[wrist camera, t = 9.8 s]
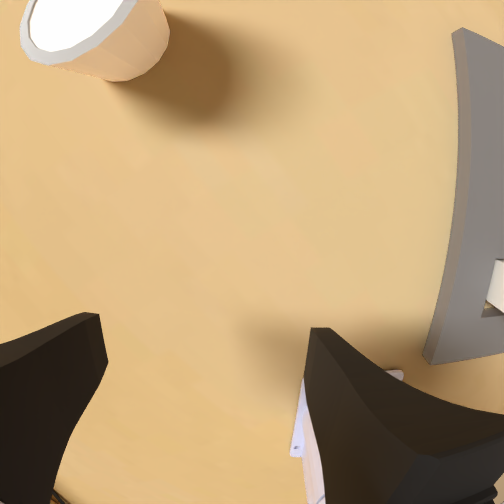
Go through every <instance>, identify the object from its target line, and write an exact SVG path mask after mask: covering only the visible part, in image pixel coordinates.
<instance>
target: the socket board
mask: <svg viewBox="0 0 504 504" xmlns="http://www.w3.org/2000/svg"><path fill="white" fill-rule="evenodd" d="M452 40H453V47H454V56H455V65H456V77H457V93H458V163H457V179H456V192H455V202H454V211H453V219H452V227H451V234H450V240H449V246H448V252H447V258H446V263H445V269H444V274H443V278H442V283H441V288H440V292H439V296H438V301H437V305H436V309H435V313H434V316H433V320H432V324H431V327H430V331H429V334H428V338H427V341H426V345H425V348H424V351H423V354H422V355H423V357H424V358H425V359H426V360H427V362H428V363H429V364H430V365H437V364H444V363H451V362H457V361H463V360H469V359H474V358H480V357H485V356H490V355H495V354H499V353H504V313H503V312H502V311H501V310H499V309H498V308H487V309H484V305H485V301H486V298H487V294H488V290H489V286H490V282H491V278H492V274H493V269H494V264H495V260H496V258H497V259H504V47H503V46H501V45H499V44H497V43H495V42H493V41H491V40H489V39H487V38H485V37H483V36H481V35H479V34H477V33H474V32H472V31H470V30H468V29H465V28H463V27H462V28H460V29H458V30H457V31H455V32H453V33H452Z"/></svg>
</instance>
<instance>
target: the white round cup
mask: <svg viewBox="0 0 504 504" xmlns="http://www.w3.org/2000/svg"><path fill="white" fill-rule="evenodd" d="M169 36H170V29H169V25H168V22H167V19H166V16H165V14H164V11H163V9H162V6H161V4H160V1H159V0H30V1H29V2H28V4H27V6H26V9H25V12H24V15H23V18H22V21H21V24H20V42H21V47H22V49H23V50H24V52H25V53H26V55H27V56H28V58H29V59H30V60H32V61H35V62H38V63H41V64H44V65H47V66H52V67H56V68H61V69H65V70H69V71H74V72H78V73H82V74H86V75H90V76H93V77H97V78H101V79H104V80H108V81H112V82H117V81H129V80H131V79H133V78H136V77H138V76H140V75H143V74H145V73H146V72H147V71H148V70H149V69H150V68H152V67H153V66H154V65H155V64H156V63H157V62H159V60H160V58H161V57H162V55H163V53H164V52H165V50H166V48H167V47H168V41H169Z"/></svg>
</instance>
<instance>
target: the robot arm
mask: <svg viewBox="0 0 504 504" xmlns="http://www.w3.org/2000/svg"><path fill="white" fill-rule="evenodd" d="M107 365H108V358H107V353H106V348H105V344H104V339H103V333H102V328H101V322H100V317H99V314H95V313H87V312H83V313H80V314H76V315H74V316H71V317H68V318H66V319H64V320H61V321H59V322H56V323H54V324H52V325H49V326H47V327H45V328H43V329H40V330H38V331H35V332H33V333H30V334H28V335H25V336H23V337H20V338H17V339H15V340H12V341H9V342H6V343H3V344H0V504H50V501H51V496H52V492H53V487H54V483H55V479H56V475H57V472H58V469H59V466H60V463H61V459H62V456H63V454H64V451H65V448H66V446H67V443H68V441H69V438H70V436H71V434H72V432H73V430H74V428H75V426H76V424H77V422H78V421H79V419H80V417H81V415H82V414H83V412H84V410H85V409H86V407H87V405H88V403H89V402H90V400H91V398H92V397H93V395H94V393H95V391H96V390H97V388H98V386H99V384H100V382H101V380H102V377H103V375H104V372H105V370H106V367H107ZM403 377H404V373H403V372H402V370H389V371H384V370H383V369H381V368H380V367H378V366H377V365H376V364H374V363H373V362H371V361H370V360H369V359H367V358H366V357H365V356H363V355H362V354H361V353H360V352H358V351H357V350H356V349H355V348H354V347H352V346H351V345H350V344H349V343H348V342H346V341H345V340H344V339H343V338H342V337H340V336H339V335H338V334H337V333H336V332H334V331H333V330H332V329H330V328H311V331H310V338H309V345H308V352H307V358H306V365H305V371H304V377H303V379H302V383H301V389H300V395H299V402H298V408H297V414H296V419H295V425H294V431H293V436H292V442H291V447H290V456H292V457H302V464H303V472H304V480H305V487H306V495H307V503H308V504H495V503H494V501H493V499H494V498H495V497H496V496H497V493H498V492H497V490H496V488H495V487H494V484H495V482H496V481H497V480H498V479H499V478H500V477H501V475H502V474H503V473H504V415H502V414H496V413H490V412H485V411H479V410H474V409H470V408H467V407H463V406H460V405H456V404H453V403H450V402H447V401H444V400H441V399H439V398H436V397H434V396H431V395H429V394H427V393H424V392H422V391H420V390H418V389H416V388H413V387H411V386H410V385H408V384H406V383H404V382H402V380H403ZM501 504H504V501H503V502H502V503H501Z"/></svg>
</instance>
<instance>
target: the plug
mask: <svg viewBox="0 0 504 504" xmlns="http://www.w3.org/2000/svg"><path fill="white" fill-rule="evenodd" d="M486 300H487V301H488V302H490V303H491V304H492V305H494V306H495V307H497V308H498V309H499V310H501V311H502V312H503V313H504V259H497V258H496V260H495V264H494V269H493V274H492V278H491V282H490V286H489V290H488V294H487V298H486Z"/></svg>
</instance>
